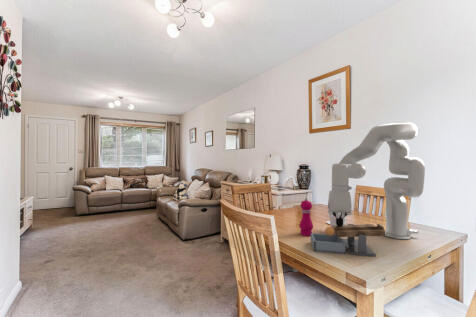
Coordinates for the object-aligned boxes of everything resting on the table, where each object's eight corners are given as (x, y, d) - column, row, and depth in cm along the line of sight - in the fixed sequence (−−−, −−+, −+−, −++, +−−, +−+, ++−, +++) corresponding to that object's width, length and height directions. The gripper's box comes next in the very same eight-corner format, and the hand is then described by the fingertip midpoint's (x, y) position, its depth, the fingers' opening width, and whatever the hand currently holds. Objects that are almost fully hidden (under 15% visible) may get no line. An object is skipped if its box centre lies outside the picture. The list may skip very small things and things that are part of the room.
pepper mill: (297, 232, 128) (297, 196, 128) (309, 232, 128) (310, 196, 129) (302, 236, 121) (302, 199, 121) (315, 236, 121) (315, 198, 121)
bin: (338, 244, 110) (338, 234, 110) (345, 254, 98) (345, 243, 98) (310, 242, 113) (310, 232, 113) (314, 251, 101) (314, 241, 101)
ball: (324, 225, 107) (324, 234, 107) (326, 227, 103) (326, 236, 103) (333, 226, 106) (333, 234, 106) (335, 228, 102) (335, 237, 102)
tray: (372, 226, 111) (371, 219, 111) (385, 236, 97) (385, 227, 97) (331, 227, 115) (330, 220, 115) (338, 237, 100) (337, 229, 101)
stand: (361, 241, 114) (361, 224, 114) (375, 256, 96) (375, 236, 96) (339, 240, 116) (339, 223, 116) (350, 254, 98) (350, 234, 98)
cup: (343, 229, 133) (343, 209, 133) (348, 234, 124) (349, 212, 124) (327, 229, 134) (327, 209, 134) (331, 234, 125) (331, 212, 125)
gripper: (354, 188, 113) (353, 225, 113) (322, 187, 116) (322, 223, 116) (358, 190, 106) (358, 229, 106) (325, 188, 109) (324, 227, 109)
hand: (339, 226), depth 111 cm, fingers closed
